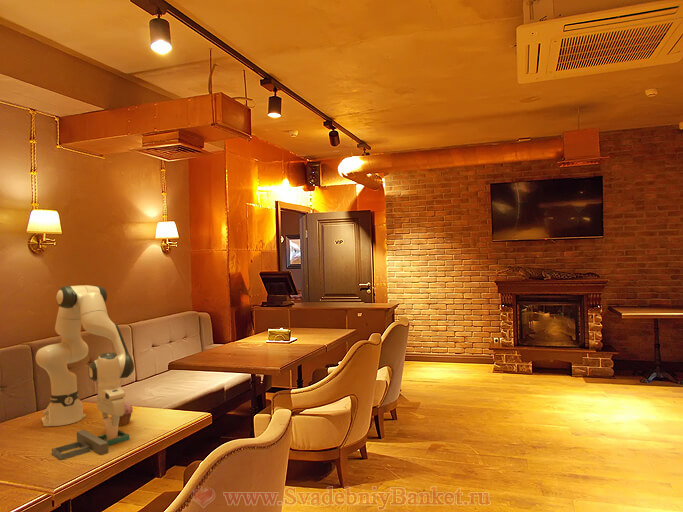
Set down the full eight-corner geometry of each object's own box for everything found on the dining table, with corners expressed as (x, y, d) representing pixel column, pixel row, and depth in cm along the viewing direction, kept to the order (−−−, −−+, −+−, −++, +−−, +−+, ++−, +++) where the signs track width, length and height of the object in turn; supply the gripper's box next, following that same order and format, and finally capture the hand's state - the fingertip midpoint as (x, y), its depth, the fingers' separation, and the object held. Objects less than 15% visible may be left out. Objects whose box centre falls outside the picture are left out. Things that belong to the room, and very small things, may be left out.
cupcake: (109, 425, 229) (108, 404, 229) (126, 419, 236) (125, 399, 236) (120, 428, 224) (119, 406, 224) (137, 422, 231) (136, 401, 231)
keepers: (51, 453, 195) (51, 449, 195) (119, 434, 215) (119, 430, 215) (60, 460, 188) (60, 455, 188) (129, 439, 208) (129, 434, 208)
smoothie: (112, 443, 202) (111, 409, 204) (100, 443, 204) (99, 409, 206) (123, 439, 208) (122, 405, 210) (111, 439, 210) (110, 406, 212)
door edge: (76, 440, 209) (76, 431, 209) (84, 438, 211) (83, 429, 211) (100, 455, 192) (100, 444, 192) (108, 452, 194) (107, 442, 194)
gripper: (92, 389, 212) (93, 420, 212) (111, 396, 199) (112, 430, 198) (107, 386, 217) (108, 416, 217) (126, 393, 203) (127, 426, 203)
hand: (110, 423), depth 208 cm, fingers open, 8 cm apart
